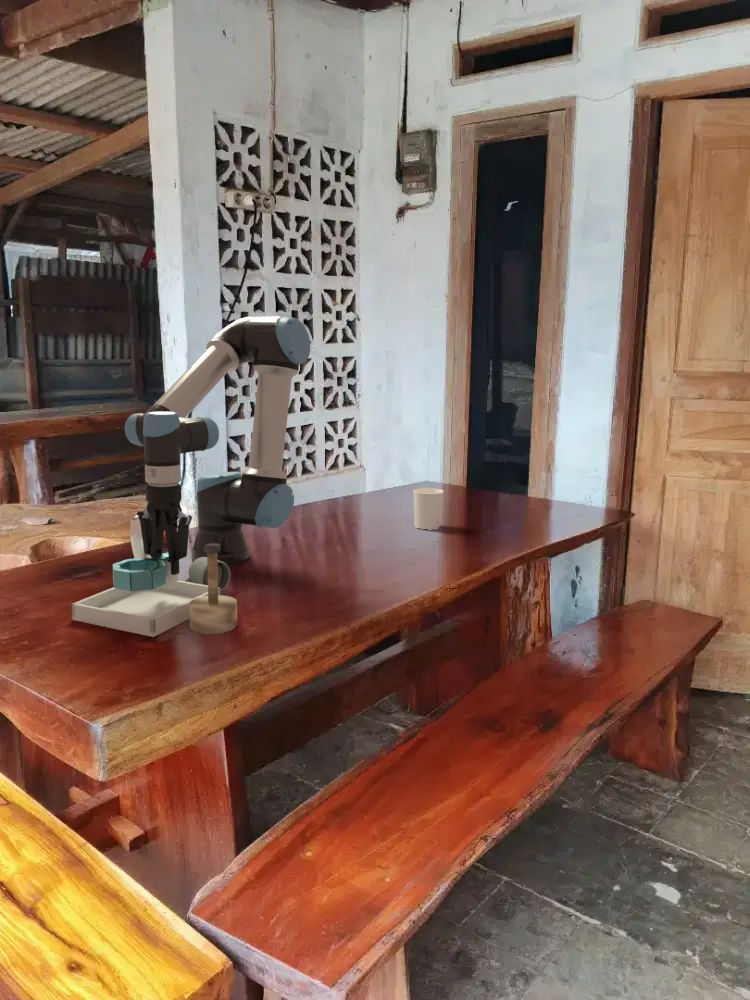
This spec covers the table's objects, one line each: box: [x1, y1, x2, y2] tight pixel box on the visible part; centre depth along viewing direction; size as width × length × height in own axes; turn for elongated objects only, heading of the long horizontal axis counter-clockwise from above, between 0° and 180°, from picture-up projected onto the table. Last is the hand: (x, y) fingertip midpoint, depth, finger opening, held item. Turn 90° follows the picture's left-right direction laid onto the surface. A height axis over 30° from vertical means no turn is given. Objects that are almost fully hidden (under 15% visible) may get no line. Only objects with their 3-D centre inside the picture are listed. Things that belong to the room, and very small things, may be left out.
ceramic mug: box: [184, 557, 231, 593], centre depth 181 cm, size 11×8×8 cm
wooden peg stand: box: [189, 543, 238, 635], centre depth 158 cm, size 10×10×17 cm
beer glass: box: [129, 515, 152, 559], centre depth 189 cm, size 7×7×15 cm
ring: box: [112, 551, 169, 591], centre depth 166 cm, size 17×10×4 cm, turn 156°
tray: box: [71, 578, 221, 638], centre depth 167 cm, size 23×21×4 cm
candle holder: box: [412, 487, 445, 530], centre depth 247 cm, size 10×10×12 cm
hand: (166, 586), depth 172 cm, fingers closed on ring, 2 cm apart
